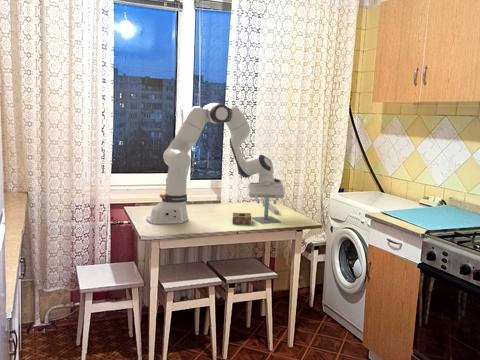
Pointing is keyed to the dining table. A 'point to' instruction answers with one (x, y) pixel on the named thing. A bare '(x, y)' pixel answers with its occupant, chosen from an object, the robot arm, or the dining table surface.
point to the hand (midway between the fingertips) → (266, 203)
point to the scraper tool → (266, 208)
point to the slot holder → (242, 218)
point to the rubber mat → (262, 221)
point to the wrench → (270, 207)
